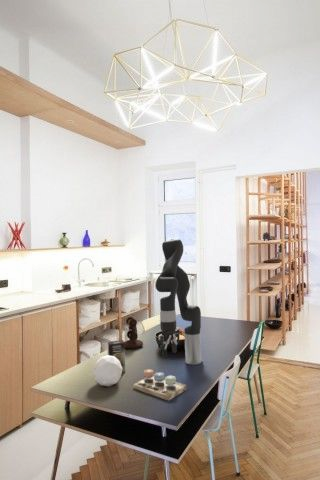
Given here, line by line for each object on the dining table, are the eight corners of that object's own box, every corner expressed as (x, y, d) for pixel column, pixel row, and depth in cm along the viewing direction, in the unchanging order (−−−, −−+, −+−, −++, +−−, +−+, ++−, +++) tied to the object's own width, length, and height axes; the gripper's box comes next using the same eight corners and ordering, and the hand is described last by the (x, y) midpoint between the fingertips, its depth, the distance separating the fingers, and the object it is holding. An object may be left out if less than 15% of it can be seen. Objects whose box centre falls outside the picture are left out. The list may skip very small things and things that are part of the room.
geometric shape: (100, 395, 168) (83, 370, 170) (122, 376, 178) (105, 353, 180) (110, 390, 157) (91, 363, 160) (132, 370, 167) (114, 345, 170)
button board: (152, 378, 173) (152, 373, 173) (186, 389, 159) (186, 383, 159) (133, 388, 163) (133, 382, 163) (168, 400, 148) (168, 394, 148)
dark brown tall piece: (146, 348, 225) (144, 318, 225) (125, 351, 220) (123, 321, 220) (139, 342, 239) (138, 314, 239) (119, 345, 233) (118, 317, 234)
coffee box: (109, 374, 182) (108, 344, 182) (108, 369, 188) (107, 341, 189) (125, 371, 185) (124, 342, 185) (124, 367, 191) (122, 339, 191)
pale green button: (169, 379, 160) (169, 374, 160) (178, 382, 157) (178, 377, 157) (163, 383, 156) (163, 378, 156) (171, 385, 153) (171, 380, 153)
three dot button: (158, 376, 164) (158, 371, 164) (166, 378, 161) (166, 373, 161) (152, 379, 161) (151, 374, 161) (160, 382, 157) (159, 377, 157)
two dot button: (148, 373, 169) (148, 368, 169) (155, 375, 166) (155, 370, 166) (141, 376, 165) (141, 371, 165) (149, 378, 162) (148, 374, 162)
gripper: (171, 315, 165) (172, 349, 165) (152, 321, 154) (153, 357, 154) (183, 317, 160) (184, 352, 160) (164, 323, 149) (166, 360, 149)
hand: (169, 354), depth 157 cm, fingers open, 7 cm apart
